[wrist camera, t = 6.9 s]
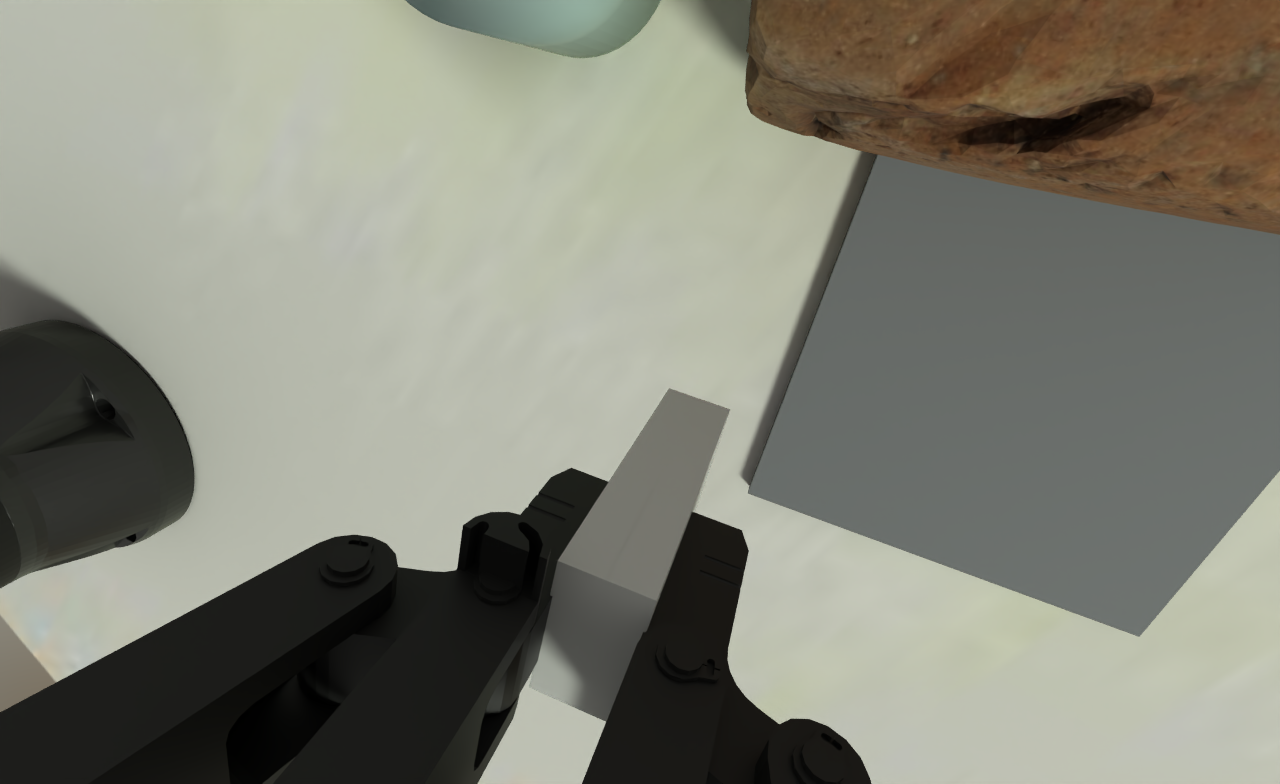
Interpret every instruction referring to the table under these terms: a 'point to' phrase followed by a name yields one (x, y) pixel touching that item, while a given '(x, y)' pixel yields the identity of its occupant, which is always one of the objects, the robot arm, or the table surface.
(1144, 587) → the mat
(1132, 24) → the brown sandstone rock
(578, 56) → the pale blue rounded cylinder
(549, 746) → the table surface
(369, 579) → the robot arm
